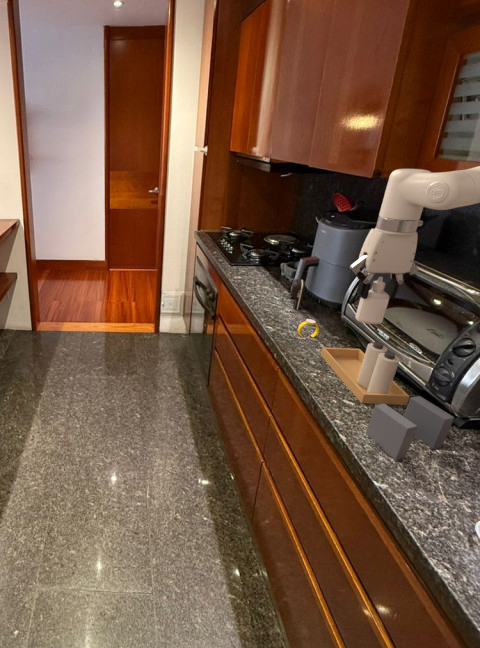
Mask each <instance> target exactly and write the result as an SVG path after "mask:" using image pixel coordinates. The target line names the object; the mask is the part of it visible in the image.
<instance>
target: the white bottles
mask: <svg viewBox="0 0 480 648" xmlns="http://www.w3.org/2000/svg"><path fill="white" fill-rule="evenodd" d="M364 353H365V356H364V359H363V362H362V366H361V369H360V372H359V376H358V379H357V384H358V385H360V386H361V387H363V388H366V389H368V390H367V393H377V394H388V393H389V390H390V387H391V384H392V381H394V378H395V375H396V373H397V369H398V367H399V363H400V358H399V357H398V356H397V355H396V354H395V352H392V351H390V350H389V351H388V348H387V347H386V346H385V344H384V343H382V342H380V341H374V342H369V343H368V344H367V346H366V349H365V352H364Z"/></svg>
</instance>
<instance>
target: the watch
mask: <svg viewBox="0 0 480 648" xmlns="http://www.w3.org/2000/svg"><path fill="white" fill-rule="evenodd" d="M307 325H310V326H315V331H314V332H313V333H312V334H310V336H311V337H312V338H316V336H318V334H319V332H320V326H319V325H318V324H317V322H316V320H314V319H311V318H306V319H305V320H304V321H303V322H301V323H300V324H299V325H298V328H297V334H298V335H299V337H301V338H303V337H304V336H303V335H302V332H301V331H302V328H304V327H305V326H307Z"/></svg>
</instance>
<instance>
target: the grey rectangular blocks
mask: <svg viewBox="0 0 480 648" xmlns="http://www.w3.org/2000/svg"><path fill="white" fill-rule="evenodd" d="M406 406H407V407H406V409H405V412H404V415H402V414H400V413H399V412H397V411H396V410H395V409H394V408H392V407H390V406H389V405H388V404H374V407H373V409H372V413H371V416H370V419H369V422H368V425H367V428H366V430H365V434H366V435H367V437H369V438H371V440H373V441H374V442H375V443H377V444H378V445H379V446H378V447H379V448H380V449H381V450H382V451H384V452H385V453H386V454H387V455H388V456H390V457H391V458H393V459H394V461H395V460H396V461H398V460H401V459H404V458H406V457H407V455H408V453H409V449H410V446H411V444H412V442H413V439H414V437H416V438H417V439H418V440H420V441H421V442H423V443H425V444H426V445H427V446H428V447H430V451H436V450H437V448H441V447H443V445H444V443H445V441H446V438H447V436H448V434H449V432H450V429H451V427H452V424H453V422H454V420H455V417H454V416H453V415H451V414H450V413H448V412H446V411H444V410H443V409H442V408H440V407H439V406H436V405H435V404H434V403H432V402H431V401H429V400H427V399H425V398H424V397H422V396H420V395H417V396H412V397H409V400H408V403H407V405H406Z"/></svg>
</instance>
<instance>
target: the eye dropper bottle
mask: <svg viewBox="0 0 480 648" xmlns="http://www.w3.org/2000/svg"><path fill="white" fill-rule="evenodd" d="M383 279H384V276H379V277H378V278H377V280H373V282H372V284H371V289H370V290H369V293H368V297H367V298H366V299H363V298H361V297H360V299H359V302H358V305H357V309H356V313H355V316H354V317H355V320H356V321H357V322H359V323H362V324H367V325H381V324H382V323H383V320H384V317H385V315H386V311H387V308H388V305H389V301H390V299H389V295H388V294H387V293H385V292H384V291H385V288H386V282H385V281H383Z"/></svg>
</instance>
